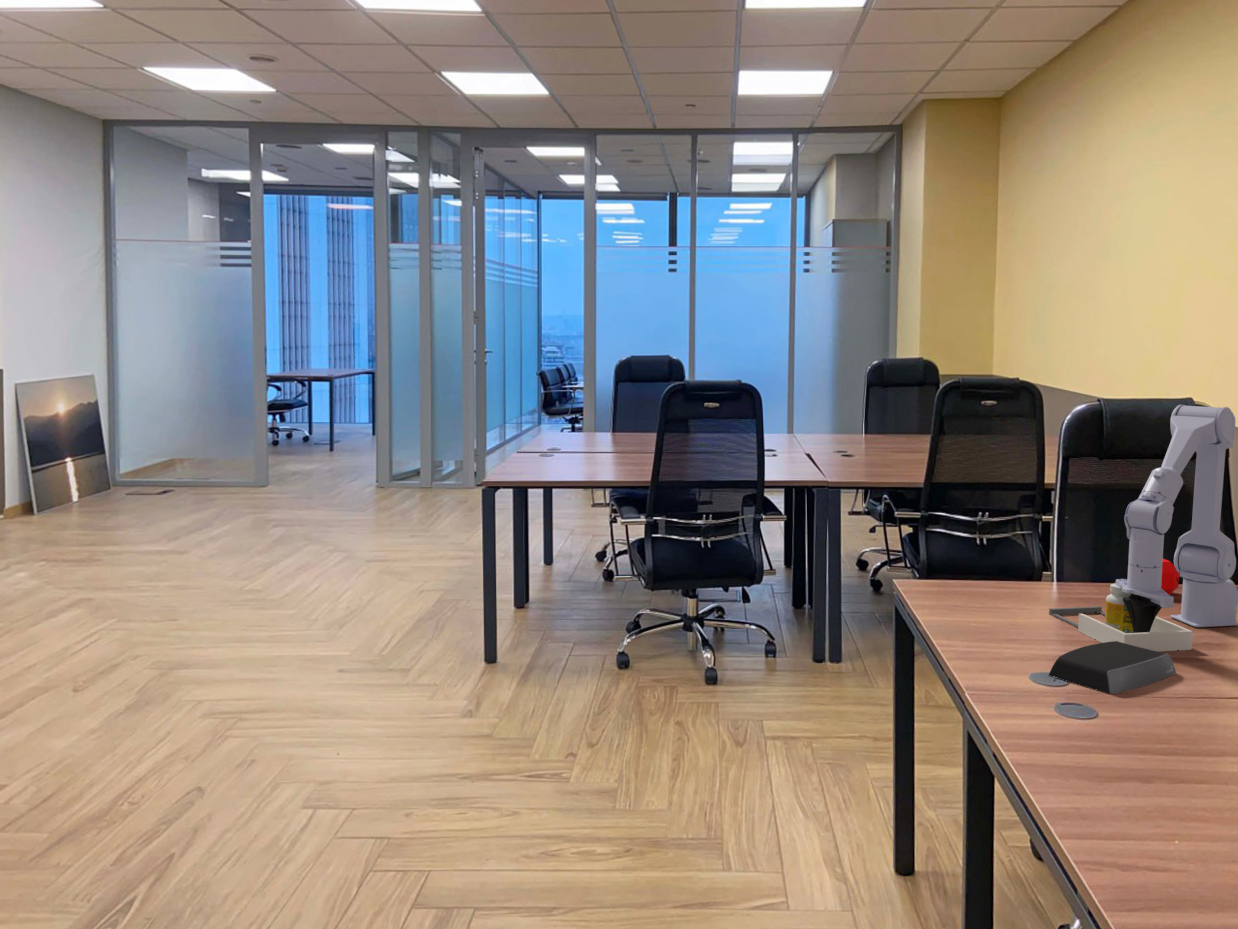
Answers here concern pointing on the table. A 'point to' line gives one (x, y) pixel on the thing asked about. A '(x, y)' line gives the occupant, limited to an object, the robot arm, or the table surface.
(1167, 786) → the table surface
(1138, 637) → the bay
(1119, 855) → the table surface
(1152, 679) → the external hard drive
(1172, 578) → the ball
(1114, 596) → the supplement bottle
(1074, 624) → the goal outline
